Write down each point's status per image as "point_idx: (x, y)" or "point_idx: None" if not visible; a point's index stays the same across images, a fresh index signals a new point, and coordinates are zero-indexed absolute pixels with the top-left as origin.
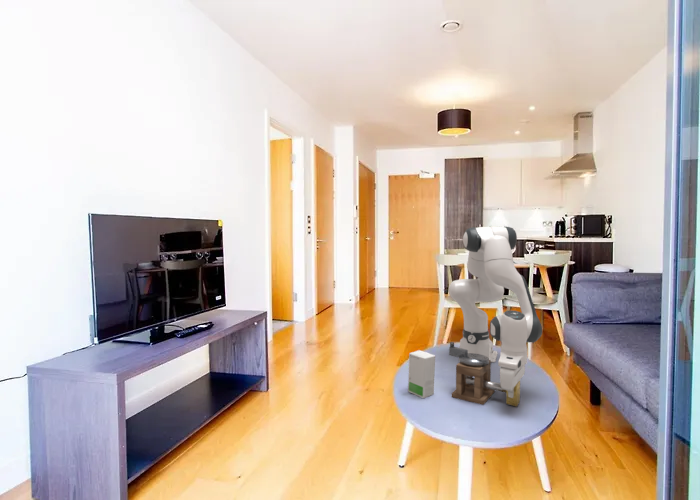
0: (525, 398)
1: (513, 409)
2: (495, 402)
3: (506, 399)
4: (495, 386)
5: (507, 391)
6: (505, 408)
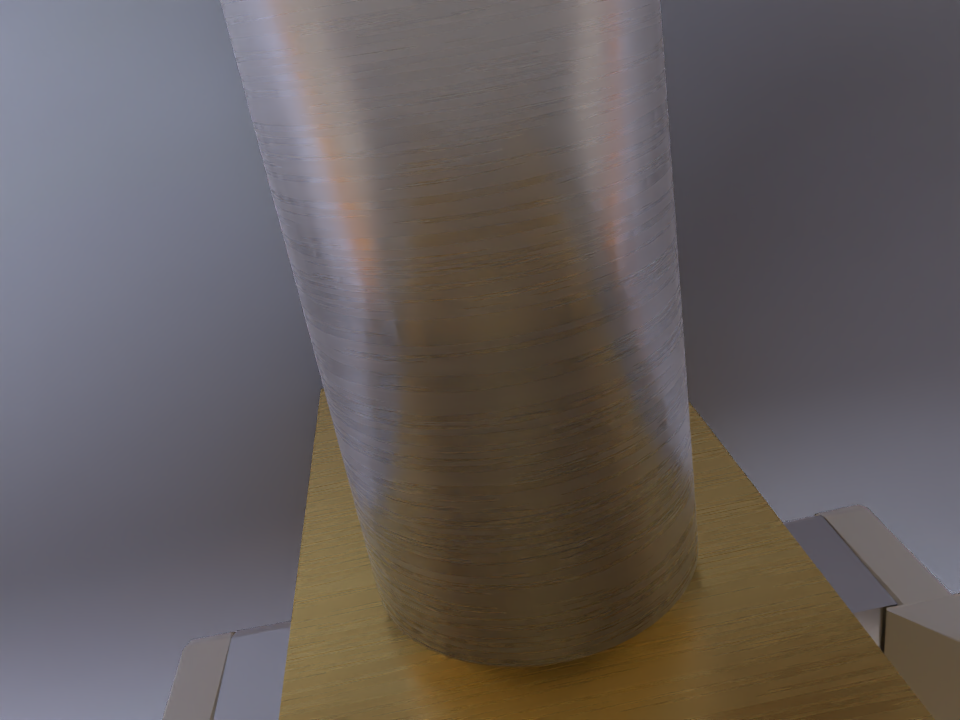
0: (954, 501)
1: (220, 581)
2: (238, 107)
3: (315, 449)
4: (255, 131)
5: (298, 648)
6: (115, 452)
